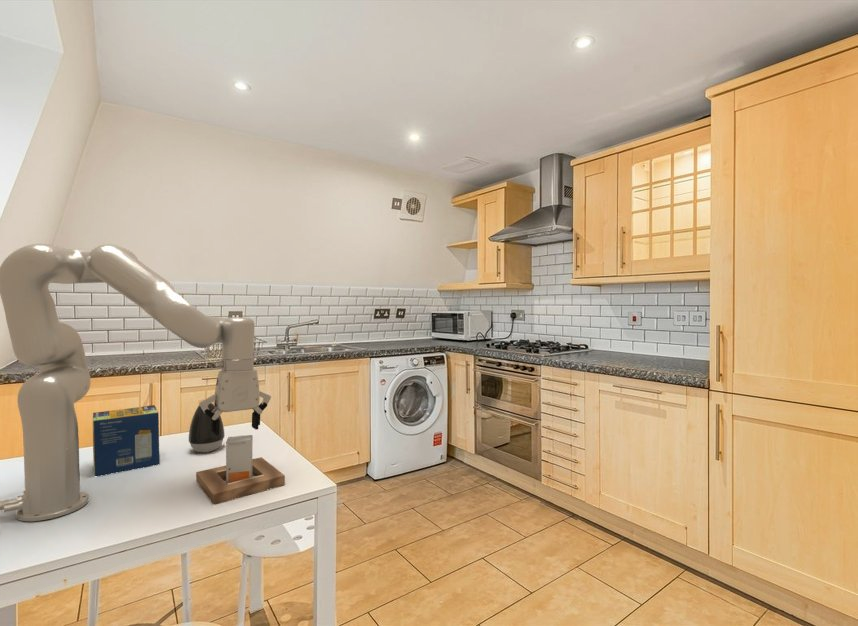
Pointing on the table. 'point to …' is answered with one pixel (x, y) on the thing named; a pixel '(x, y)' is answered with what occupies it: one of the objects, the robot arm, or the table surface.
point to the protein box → (125, 439)
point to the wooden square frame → (222, 492)
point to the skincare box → (239, 458)
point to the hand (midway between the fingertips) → (235, 431)
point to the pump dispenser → (204, 431)
